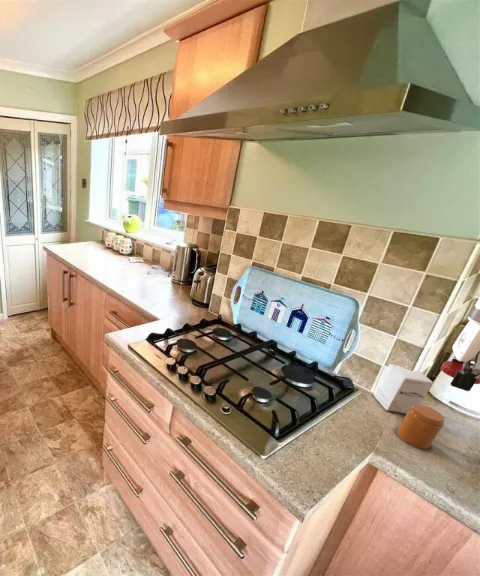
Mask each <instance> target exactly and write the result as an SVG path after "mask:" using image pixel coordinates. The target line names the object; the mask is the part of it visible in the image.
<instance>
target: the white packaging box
mask: <svg viewBox="0 0 480 576" xmlns="http://www.w3.org/2000/svg"><path fill="white" fill-rule="evenodd" d="M400 366H401V365H398V366H397V365H396V364H391V363H390V364H388V366H387V368H386V370H385V372H384V374H383V375H382V377H381V380H380V381H379V383H378V385H377V387H376V389H375V391H374V393H373V396H374V398H375V399H376V400H377V401H378V402H379V404H380V405H381V406H382V407H383V409H385V410H386V411H389V412H396V413H400V414H405V415H406V414H407V413H408V411H409V409H410V408H413V405H417V404H419V405H422V403H423V401H424V400H425V398H426V396H427V395H428V393H429V392H430V390H431V388H432V387H433V384H434V381H432V380H431V379H430V378H429V377H427V376H426V375H425V374H424V373H422V371H420V370H419V369H417V370H418V371H415V372H413V371H411V370H408V369H405V368H403V367H400Z"/></svg>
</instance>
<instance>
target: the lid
mask: <svg viewBox="0 0 480 576" xmlns="http://www.w3.org/2000/svg"><path fill="white" fill-rule="evenodd" d="M462 365H463V364H462V363H458V362H453V361H452V360H445V361H443V362H442V363H441V365H440V371H441V372H442V373H444V374H445V375H447V376H449V377H451V378H454V377H455V375H456V373H457V372H460V370H461V368H462ZM472 367H473V366H467V369H468V368H472ZM474 385H480V375H479V378H478V379H477V380H476V382H475V383H474Z"/></svg>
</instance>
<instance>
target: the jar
mask: <svg viewBox="0 0 480 576" xmlns="http://www.w3.org/2000/svg"><path fill="white" fill-rule="evenodd" d="M444 422H445V417H444V416H443V414H442V413H441V412H440V411H437V410H436V409H434V408H432V407H429V406H427V405H424V404H420V405H419V404H417V405H413V408H410V409H409V411H408V413H407V414H405V416H404V417H403V420H402V421H401V423H400V425H399V426H398V428H397V430H396V434H397V436H398V437H399V438H400V439H401V440H402V441H404V442H406V443H407V444H409V445H411V446H413V447H415V448H417V449H421V450H429V449H430V447H431V446H432V444H433V443H434V442H435V440H436V438H437V436H438V435H439V434H440V432H441V431H442V429H443V428H444V426H445V423H444Z"/></svg>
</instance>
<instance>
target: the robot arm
mask: <svg viewBox="0 0 480 576" xmlns="http://www.w3.org/2000/svg"><path fill="white" fill-rule="evenodd" d="M467 320H468V322H467V323H466V325H465V327H464V328H463V329H462V331H461V332H460V334H459V335H458V337H457V338H456V340H455V341H454V343H453V345H452V351H453V354H454V356H453V357H452V359H451V361H453V362H458V363H462V364H463V365H462V368H461V370H460V372H457V373H456V375H455V377H454V378H453V377H452V378H453V379H452V380H451V381H450V386H451V387H454V388H456V389H460V390H462V391H466V392H470V391H471V389H472V388H473V387H474V385H475V384H474V383H475V382H476V380H477V379H478V378H479V375H480V297H479V298H478V299H477V301H476V303H475V305H474V306H473V308H472V309H471V311H470V313H469V315H468V317H467ZM473 362H474V363H473ZM467 366H470V367H472V368H468V369H467Z"/></svg>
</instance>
